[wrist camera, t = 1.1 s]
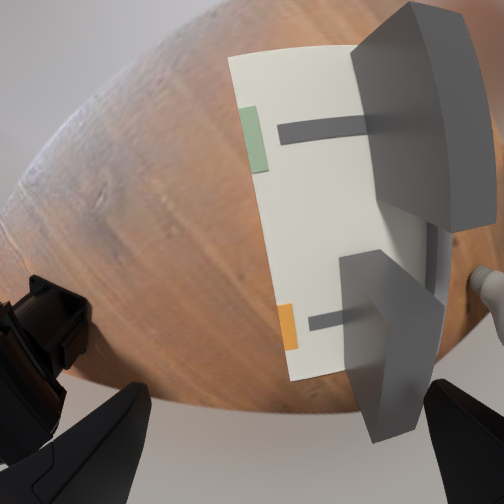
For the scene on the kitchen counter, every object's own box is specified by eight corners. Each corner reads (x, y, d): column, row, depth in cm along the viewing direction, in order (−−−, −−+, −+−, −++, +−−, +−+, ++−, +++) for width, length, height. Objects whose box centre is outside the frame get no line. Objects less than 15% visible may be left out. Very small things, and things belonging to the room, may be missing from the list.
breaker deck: (288, 369, 24) (292, 394, 21) (229, 64, 16) (225, 49, 13) (423, 335, 23) (437, 354, 20) (406, 53, 15) (426, 43, 12)
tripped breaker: (344, 366, 22) (372, 443, 14) (338, 257, 18) (388, 323, 11) (378, 357, 21) (414, 429, 14) (379, 249, 18) (444, 306, 11)
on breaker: (376, 199, 17) (450, 233, 10) (349, 53, 14) (409, 1, 6) (414, 193, 17) (496, 222, 9) (390, 54, 14) (462, 14, 6)
